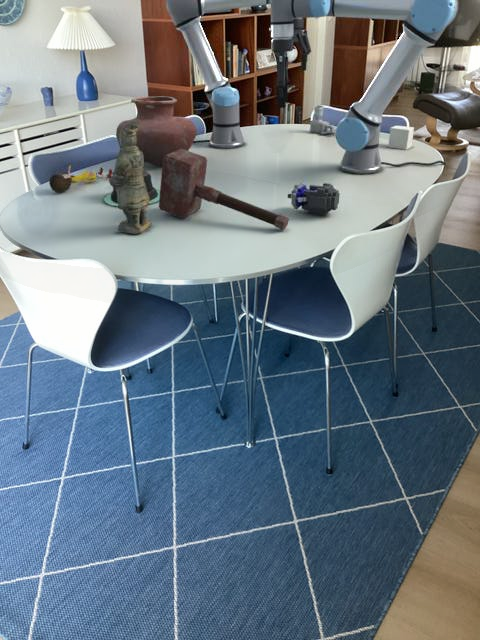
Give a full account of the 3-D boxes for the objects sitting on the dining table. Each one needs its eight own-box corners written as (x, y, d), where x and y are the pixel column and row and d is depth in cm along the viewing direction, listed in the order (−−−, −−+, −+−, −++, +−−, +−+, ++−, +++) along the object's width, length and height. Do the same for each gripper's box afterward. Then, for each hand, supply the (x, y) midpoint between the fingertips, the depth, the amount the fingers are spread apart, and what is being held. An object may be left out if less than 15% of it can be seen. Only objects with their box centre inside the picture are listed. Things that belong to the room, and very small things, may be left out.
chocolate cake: (91, 202, 180) (113, 186, 197) (142, 231, 182) (160, 212, 199) (107, 162, 172) (129, 148, 190) (160, 192, 174) (177, 176, 192)
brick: (393, 144, 244) (395, 125, 240) (411, 146, 240) (414, 127, 236) (388, 147, 240) (390, 127, 236) (406, 149, 236) (409, 129, 232)
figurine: (118, 166, 204) (64, 174, 185) (119, 186, 207) (65, 196, 188) (93, 161, 211) (38, 168, 191) (95, 181, 214) (40, 190, 195)
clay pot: (204, 155, 234) (201, 91, 222) (186, 175, 209) (181, 105, 196) (136, 153, 239) (129, 91, 227) (109, 172, 214) (100, 104, 201)
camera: (318, 104, 267) (345, 108, 259) (317, 129, 274) (342, 134, 265) (308, 106, 262) (334, 110, 253) (306, 132, 268) (332, 137, 259)
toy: (295, 178, 172) (342, 184, 166) (295, 205, 177) (340, 211, 171) (285, 186, 166) (333, 192, 160) (284, 213, 170) (331, 220, 164)
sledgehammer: (299, 190, 156) (179, 147, 167) (285, 200, 148) (161, 154, 160) (286, 244, 166) (174, 200, 177) (272, 256, 158) (156, 209, 170)
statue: (131, 220, 168) (117, 116, 152) (158, 224, 164) (147, 118, 149) (109, 233, 159) (93, 124, 144) (138, 237, 156) (124, 126, 140)
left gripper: (308, 17, 249) (306, 68, 260) (267, 18, 235) (267, 73, 246) (320, 17, 244) (318, 69, 255) (280, 19, 231) (279, 74, 241)
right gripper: (274, 36, 200) (275, 99, 211) (267, 41, 179) (269, 110, 189) (295, 35, 199) (295, 98, 209) (291, 40, 178) (291, 110, 188)
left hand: (293, 71), depth 251 cm, fingers open, 13 cm apart
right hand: (282, 104), depth 199 cm, fingers open, 13 cm apart
